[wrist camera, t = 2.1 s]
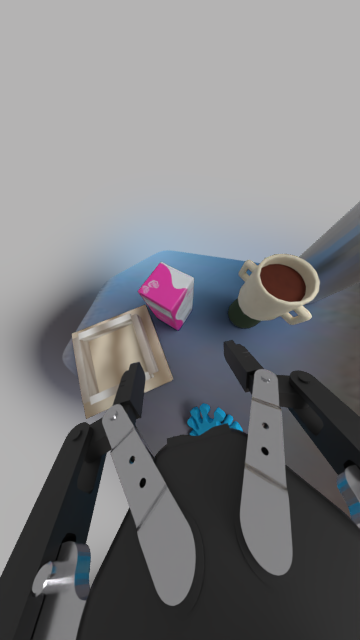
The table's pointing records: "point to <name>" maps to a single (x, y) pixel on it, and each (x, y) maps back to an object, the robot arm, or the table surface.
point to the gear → (209, 420)
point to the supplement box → (169, 295)
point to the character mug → (274, 291)
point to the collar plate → (117, 357)
